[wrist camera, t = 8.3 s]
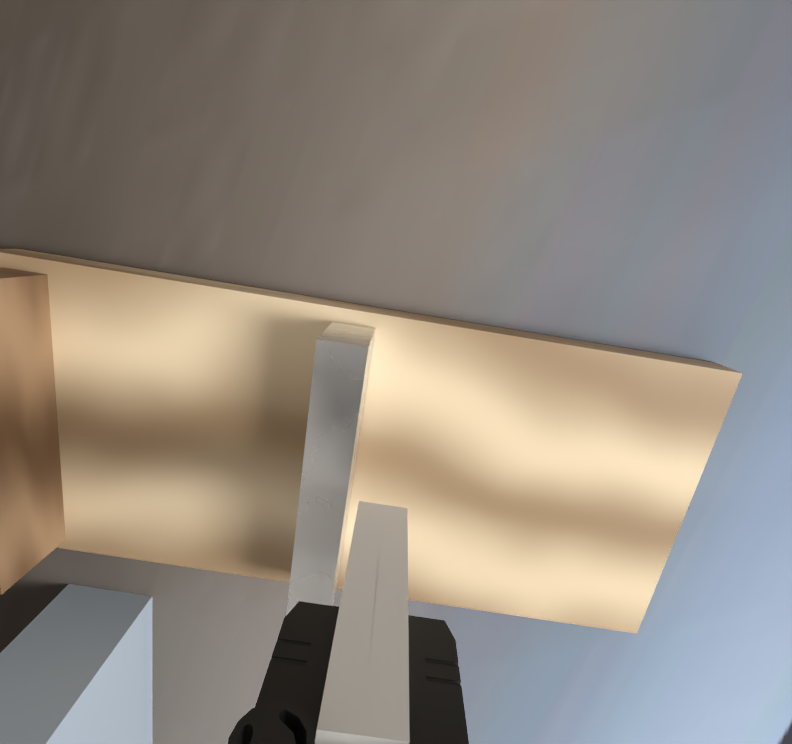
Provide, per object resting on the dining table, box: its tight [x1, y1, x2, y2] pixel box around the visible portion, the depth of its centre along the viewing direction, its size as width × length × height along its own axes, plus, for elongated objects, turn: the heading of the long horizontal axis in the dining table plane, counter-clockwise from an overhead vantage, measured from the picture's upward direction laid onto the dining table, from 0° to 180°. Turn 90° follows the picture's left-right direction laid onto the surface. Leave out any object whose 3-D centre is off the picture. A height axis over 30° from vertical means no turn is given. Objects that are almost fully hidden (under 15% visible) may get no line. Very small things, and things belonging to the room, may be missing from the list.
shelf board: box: [0, 249, 743, 633], centre depth 16 cm, size 12×27×4 cm, turn 81°
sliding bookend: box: [286, 321, 376, 615], centre depth 15 cm, size 11×2×3 cm, turn 171°
